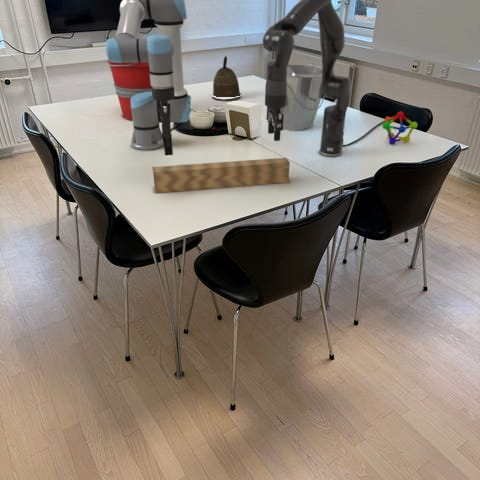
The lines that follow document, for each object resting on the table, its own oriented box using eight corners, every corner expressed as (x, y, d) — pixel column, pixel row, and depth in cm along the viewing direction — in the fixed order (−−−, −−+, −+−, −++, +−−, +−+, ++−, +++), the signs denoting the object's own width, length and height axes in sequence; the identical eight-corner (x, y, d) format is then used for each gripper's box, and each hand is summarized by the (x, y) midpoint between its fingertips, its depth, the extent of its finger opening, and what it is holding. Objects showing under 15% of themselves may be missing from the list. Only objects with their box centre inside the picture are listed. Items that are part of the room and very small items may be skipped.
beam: (155, 193, 164) (153, 172, 159) (154, 187, 168) (152, 166, 163) (288, 182, 172) (289, 162, 168) (284, 177, 176) (286, 157, 172)
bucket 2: (296, 138, 215) (301, 78, 201) (255, 124, 234) (256, 68, 219) (335, 125, 232) (342, 70, 217) (294, 113, 251) (297, 61, 236)
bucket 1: (122, 105, 263) (114, 51, 248) (180, 106, 263) (177, 52, 247) (105, 123, 234) (95, 63, 218) (171, 124, 233) (166, 64, 217)
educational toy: (377, 146, 209) (379, 114, 202) (384, 138, 219) (386, 107, 211) (411, 149, 202) (415, 116, 195) (417, 141, 212) (420, 109, 204)
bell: (227, 105, 294) (202, 96, 282) (238, 66, 289) (213, 55, 277) (243, 108, 280) (217, 98, 268) (255, 66, 275) (229, 55, 263)
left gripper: (176, 95, 137) (181, 160, 148) (171, 78, 158) (175, 136, 169) (152, 96, 136) (158, 161, 147) (150, 79, 157) (156, 137, 168)
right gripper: (292, 96, 150) (289, 142, 158) (280, 86, 162) (278, 130, 170) (270, 97, 149) (268, 144, 157) (260, 87, 160) (259, 131, 169)
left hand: (167, 148), depth 158 cm, fingers open, 13 cm apart
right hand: (273, 136), depth 164 cm, fingers open, 8 cm apart
